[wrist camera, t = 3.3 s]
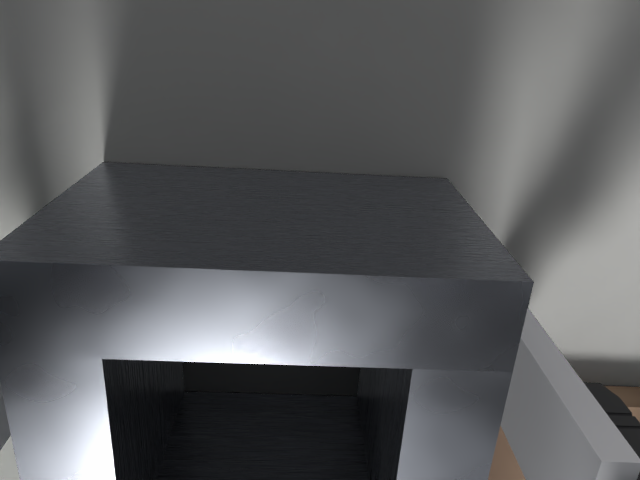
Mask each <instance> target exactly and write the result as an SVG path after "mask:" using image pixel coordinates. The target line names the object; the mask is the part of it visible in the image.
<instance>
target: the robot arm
mask: <svg viewBox="0 0 640 480" xmlns="http://www.w3.org/2000/svg"><path fill="white" fill-rule="evenodd" d="M501 427H502V430H503V432H504V434H505V436H506V438H507V440H508V443H509V445H510V447H511V449H512V451H513V453H514V455H515V458H516V460H517V462H518V464H519V466H520V468H521V470H522V473H523V475H524V477H525V479H526V480H640V422H639V421H638V420H637V418H636V417H635V416H632V412H631V411H630V410H629V408H628V407H627V406H626V405H625V403H624V402H623V401H622V400H621V399H620V397H618V396H617V395H616V394H614V393H613V392H612V391H610V390H609V389H607V388H606V387H605V386H603V385H602V384H600V383H583V381H582V380H581V379H580V377H579V376H578V374H577V373H576V372H575V370H574V369H573V368H572V366H571V365H570V364H569V362H568V361H567V360H566V358H565V357H564V356H563V354H562V353H561V352H560V350H559V349H558V347H557V346H556V345H555V343H554V342H553V341H552V339H551V338H550V337H549V335H548V334H547V333H546V331H545V330H544V329H543V327H542V326H541V325H540V323H539V322H538V320H537V319H536V318H535V316H534V315H533V314H532V312H531V311H530V310H529V308H528V309H527V313H526V317H525V322H524V326H523V330H522V334H521V339H520V343H519V347H518V352H517V356H516V360H515V365H514V369H513V373H512V378H511V382H510V386H509V391H508V395H507V399H506V404H505V408H504V412H503V416H502V421H501ZM10 435H11V433H10V428H9V423H8V419H7V414H6V409H5V404H4V399H3V394H2V389H1V384H0V450H1V448H2V447H3V446H4V444H5V443H6V441H7V440H8V438H9V437H10Z"/></svg>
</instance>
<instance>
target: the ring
mask: <svg viewBox="0 0 640 480" xmlns="http://www.w3.org/2000/svg"><path fill="white" fill-rule="evenodd" d="M533 283H534V282H533V281H532V279H531V278H530V277H529V276H528V275H527V273H526V272H525V271H524V270H523V269H522V268H521V266H520V265H519V264H518V263H517V262H516V260H515V259H514V258H513V257H512V256H511V254H510V253H509V252H508V251H507V250H506V248H505V247H504V246H503V245H502V244H501V242H500V241H499V240H498V239H497V238H496V236H495V235H494V234H493V233H492V232H491V230H490V229H489V228H488V227H487V226H486V224H485V223H484V222H483V221H482V220H481V219H480V217H479V216H478V215H477V214H476V213H475V211H474V210H473V209H472V208H471V207H470V205H469V204H468V203H467V202H466V201H465V199H464V198H463V197H462V196H461V195H460V193H459V192H458V191H457V190H456V189H455V187H454V186H453V185H452V184H451V183H450V181H449V180H448V179H444V178H423V177H402V176H382V175H361V174H340V173H319V172H299V171H278V170H257V169H236V168H216V167H195V166H174V165H153V164H133V163H112V162H103V163H101V164H100V165H99V166H97V167H96V168H95V169H93V170H92V171H91V172H89V173H88V174H87V175H86V176H84V177H83V178H82V179H80V180H79V181H78V182H76V183H75V184H74V185H72V186H71V187H70V188H69V189H67V190H66V191H65V192H63V193H62V194H61V195H59V196H58V197H57V198H55V199H54V200H53V201H52V202H50V203H49V204H48V205H46V206H45V207H44V208H42V209H41V210H40V211H38V212H37V213H36V214H35V215H33V216H32V217H31V218H29V219H28V220H27V221H25V222H24V223H23V224H21V225H20V226H19V227H18V228H16V229H15V230H14V231H12V232H11V233H10V234H8V235H7V236H6V237H4V238H3V239H2V240H1V241H0V384H1V389H2V394H3V399H4V404H5V409H6V414H7V419H8V423H9V428H10V433H11V438H12V443H13V448H14V453H15V458H16V463H17V468H18V473H19V478H20V480H488V477H489V473H490V468H491V464H492V460H493V455H494V451H495V447H496V442H497V438H498V434H499V429H500V425H501V421H502V416H503V412H504V408H505V404H506V399H507V395H508V391H509V386H510V382H511V378H512V373H513V369H514V365H515V360H516V356H517V352H518V347H519V343H520V339H521V334H522V330H523V326H524V322H525V317H526V313H527V309H528V304H529V300H530V296H531V291H532V287H533ZM183 362H212V363H243V364H275V365H306V366H337V367H360V375H359V384H358V394H357V396H325V395H291V394H257V393H224V392H190V391H184V379H183Z"/></svg>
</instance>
